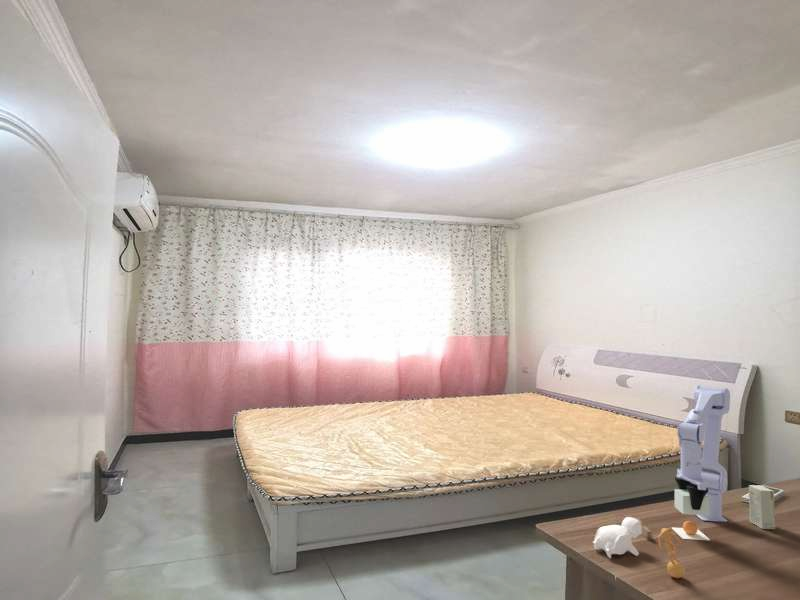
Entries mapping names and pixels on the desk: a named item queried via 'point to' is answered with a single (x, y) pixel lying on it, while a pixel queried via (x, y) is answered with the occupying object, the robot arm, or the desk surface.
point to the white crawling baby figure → (618, 537)
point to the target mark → (684, 535)
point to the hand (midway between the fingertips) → (690, 505)
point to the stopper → (645, 530)
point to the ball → (690, 527)
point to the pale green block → (689, 503)
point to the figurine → (671, 553)
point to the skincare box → (761, 506)
